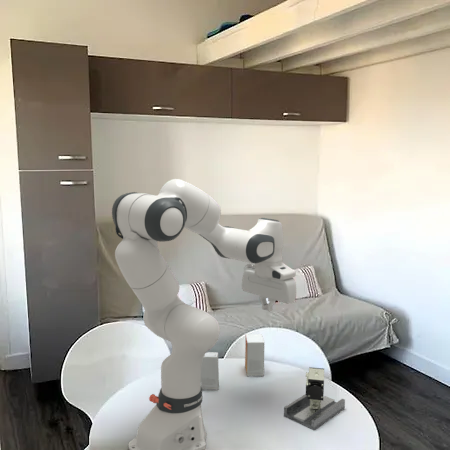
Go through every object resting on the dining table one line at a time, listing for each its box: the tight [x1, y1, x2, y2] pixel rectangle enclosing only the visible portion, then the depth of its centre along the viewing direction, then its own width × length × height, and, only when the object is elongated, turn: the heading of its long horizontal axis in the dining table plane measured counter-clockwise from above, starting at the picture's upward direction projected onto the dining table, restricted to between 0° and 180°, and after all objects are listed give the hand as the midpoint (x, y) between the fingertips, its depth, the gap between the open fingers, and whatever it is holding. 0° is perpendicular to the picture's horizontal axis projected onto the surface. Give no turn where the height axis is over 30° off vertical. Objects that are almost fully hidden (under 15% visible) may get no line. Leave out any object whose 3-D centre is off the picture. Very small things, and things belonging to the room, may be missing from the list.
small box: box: [244, 333, 265, 377], centre depth 185 cm, size 8×6×13 cm
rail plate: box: [283, 393, 346, 431], centre depth 158 cm, size 17×11×3 cm, turn 136°
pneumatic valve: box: [305, 366, 325, 410], centre depth 158 cm, size 6×12×12 cm, turn 168°
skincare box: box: [201, 351, 220, 391], centre depth 173 cm, size 6×4×12 cm
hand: (267, 310), depth 164 cm, fingers closed
